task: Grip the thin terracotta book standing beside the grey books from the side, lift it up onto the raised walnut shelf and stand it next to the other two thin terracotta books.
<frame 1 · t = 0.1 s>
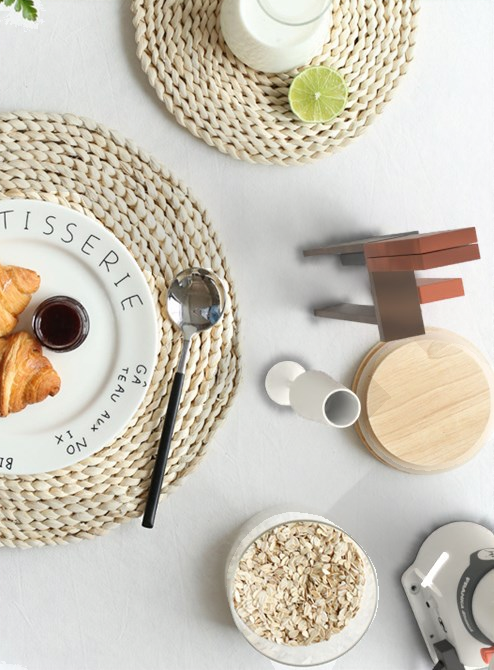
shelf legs: (325, 286, 123), on the table
terracotta book: (396, 289, 124), on the table
champagne flute: (286, 383, 123), on the table
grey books: (359, 251, 124), on the table
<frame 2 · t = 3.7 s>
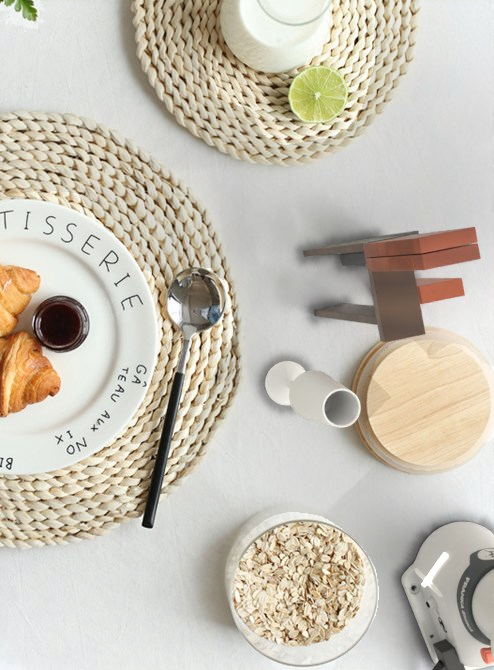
nothing on the table moved.
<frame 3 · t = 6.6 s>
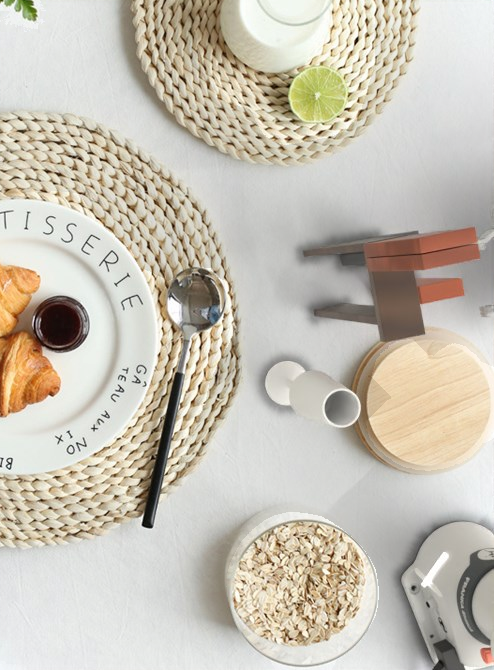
hand: (475, 279, 117), 8 cm above the table, tool horizontal, fingers open, 8 cm apart
nothing on the table moved.
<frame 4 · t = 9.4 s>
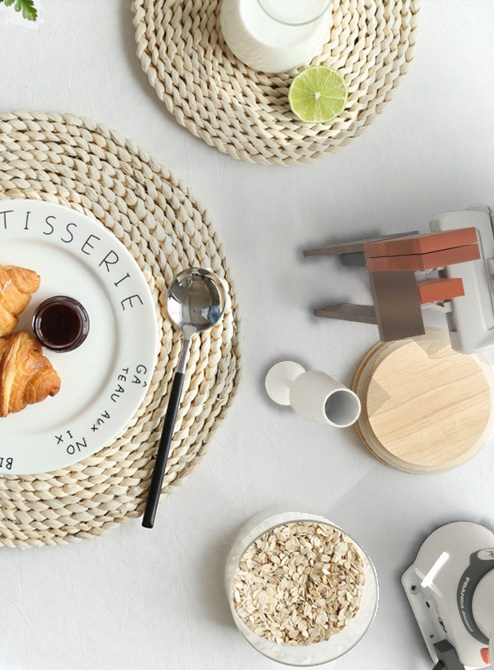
hand: (413, 291, 116), 8 cm above the table, tool horizontal, fingers closed on terracotta book, 2 cm apart
terracotta book: (396, 289, 124), on the table, touching gripper
everything else where it was.
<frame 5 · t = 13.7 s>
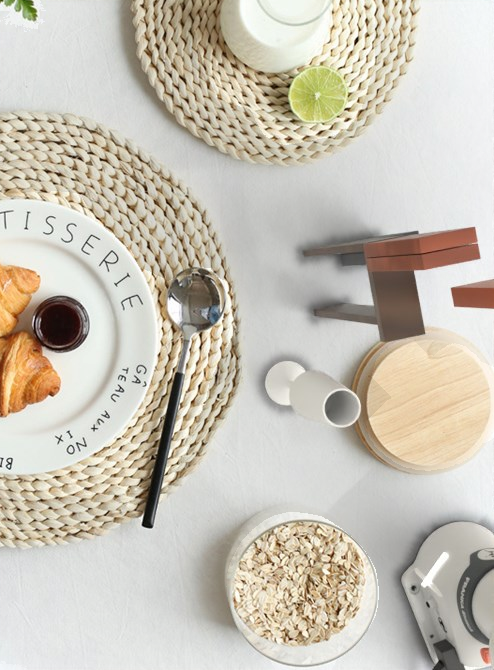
terracotta book: (475, 292, 100), point 24 cm above the table, touching gripper
everything else where it was.
when the fingers open (34 cm above the table, at t = 18.4 s): terracotta book stays where it is, resting on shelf.
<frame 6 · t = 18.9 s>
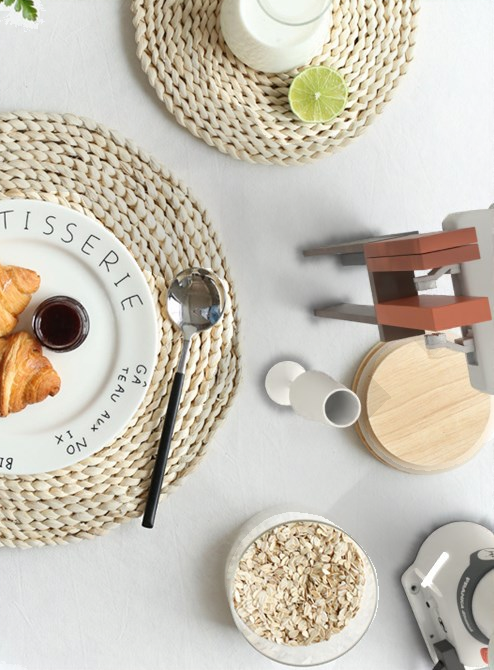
hand: (421, 313, 90), 34 cm above the table, tool horizontal, fingers open, 5 cm apart
terracotta book: (400, 309, 98), point 26 cm above the table, touching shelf
everything else where it was.
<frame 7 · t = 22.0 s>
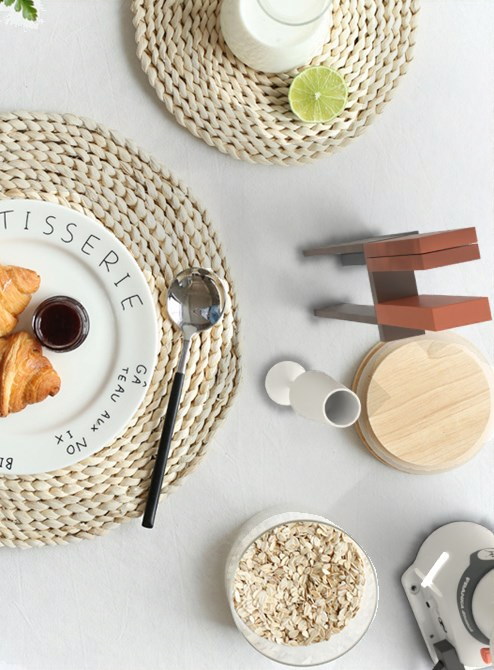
nothing on the table moved.
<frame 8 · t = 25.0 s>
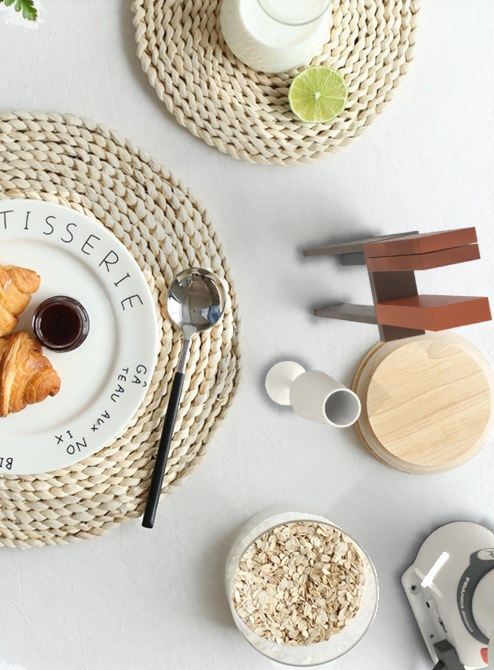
nothing on the table moved.
at the end: terracotta book 0.0 cm from the target spot on the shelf, point 1.5 cm above the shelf's base; terracotta book tilted 0°; the gripper is holding nothing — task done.
